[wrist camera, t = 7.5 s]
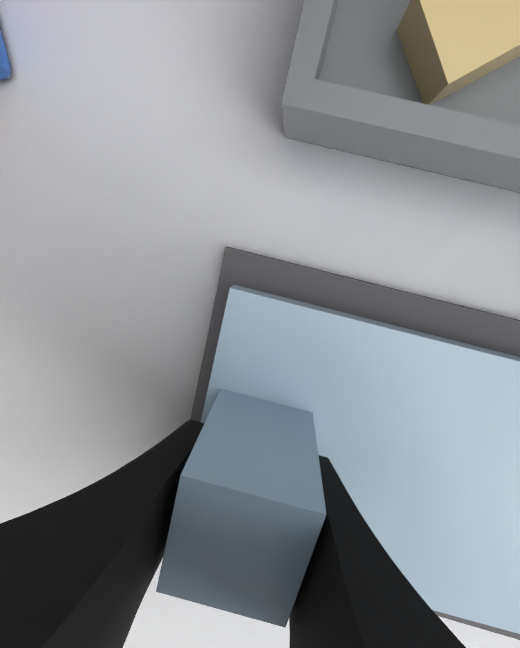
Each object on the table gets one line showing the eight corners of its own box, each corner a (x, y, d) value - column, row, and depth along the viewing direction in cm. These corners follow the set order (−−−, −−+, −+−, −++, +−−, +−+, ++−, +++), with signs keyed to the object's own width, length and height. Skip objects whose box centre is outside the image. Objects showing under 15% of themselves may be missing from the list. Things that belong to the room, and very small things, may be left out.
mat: (732, 374, 10) (745, 378, 10) (549, 641, 13) (554, 650, 13) (227, 246, 11) (225, 247, 10) (169, 530, 14) (166, 536, 14)
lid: (696, 401, 10) (1044, 539, 5) (550, 621, 13) (703, 846, 8) (234, 284, 10) (189, 319, 6) (181, 521, 13) (121, 679, 8)
